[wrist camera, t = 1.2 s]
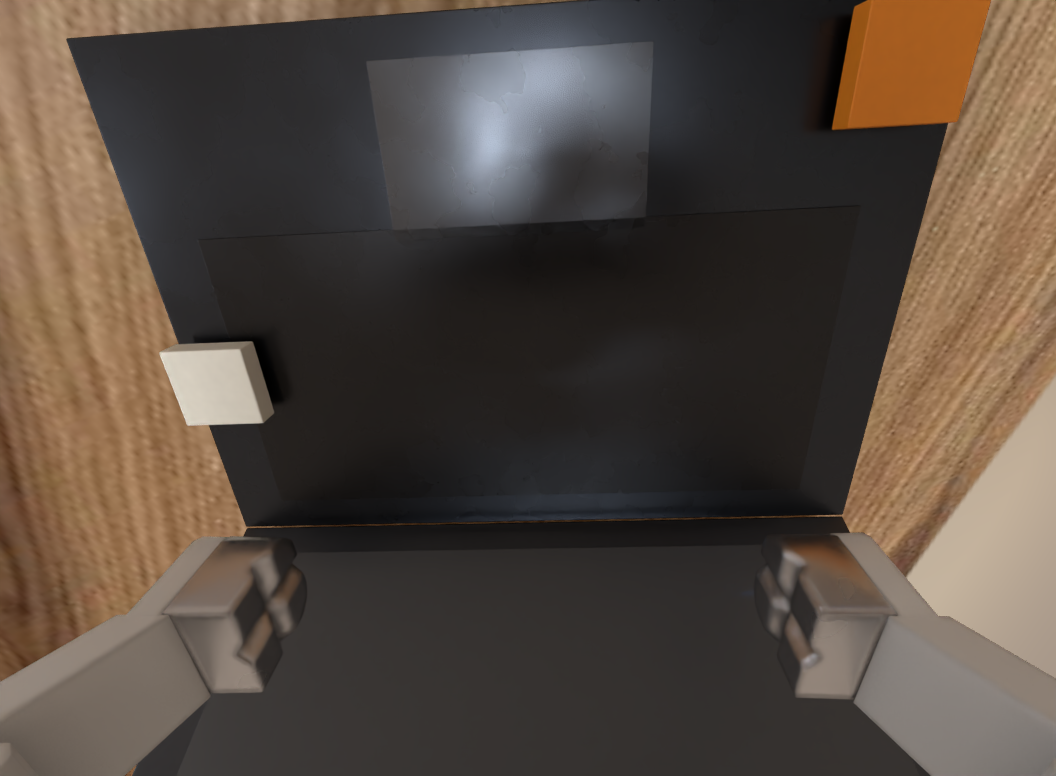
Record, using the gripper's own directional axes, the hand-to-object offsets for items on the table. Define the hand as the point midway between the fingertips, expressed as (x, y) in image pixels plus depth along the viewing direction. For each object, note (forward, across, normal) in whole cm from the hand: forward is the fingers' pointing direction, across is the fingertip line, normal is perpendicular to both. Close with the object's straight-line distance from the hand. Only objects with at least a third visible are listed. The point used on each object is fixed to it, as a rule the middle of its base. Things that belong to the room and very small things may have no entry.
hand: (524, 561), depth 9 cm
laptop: (+15, +1, 0) cm, 15 cm away
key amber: (+13, -12, -8) cm, 20 cm away
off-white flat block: (+13, +14, +2) cm, 19 cm away
